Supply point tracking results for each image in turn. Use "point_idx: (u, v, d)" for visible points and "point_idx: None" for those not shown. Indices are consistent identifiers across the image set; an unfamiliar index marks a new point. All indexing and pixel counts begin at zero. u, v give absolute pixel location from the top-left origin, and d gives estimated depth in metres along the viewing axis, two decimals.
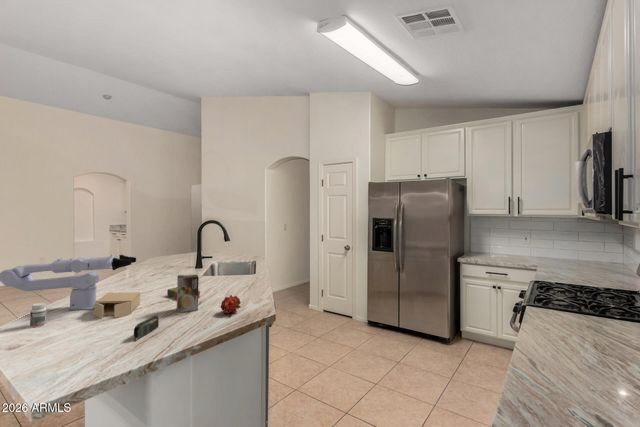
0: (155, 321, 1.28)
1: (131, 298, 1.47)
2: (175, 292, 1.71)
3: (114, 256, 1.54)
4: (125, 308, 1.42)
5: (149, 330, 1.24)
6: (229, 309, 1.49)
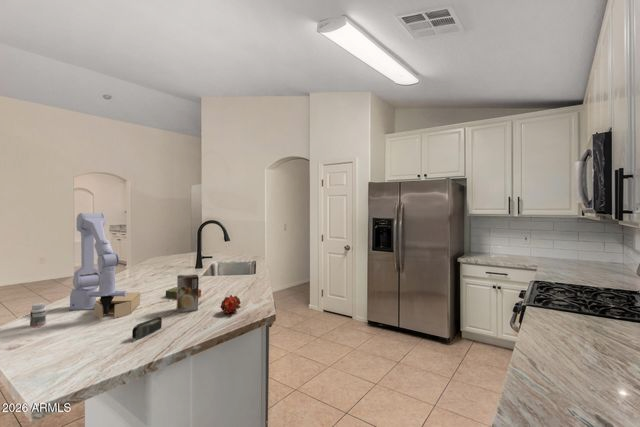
0: (156, 322, 1.27)
1: (131, 298, 1.47)
2: (176, 292, 1.70)
3: (107, 295, 1.35)
4: (125, 308, 1.42)
5: (149, 331, 1.23)
6: (229, 309, 1.49)
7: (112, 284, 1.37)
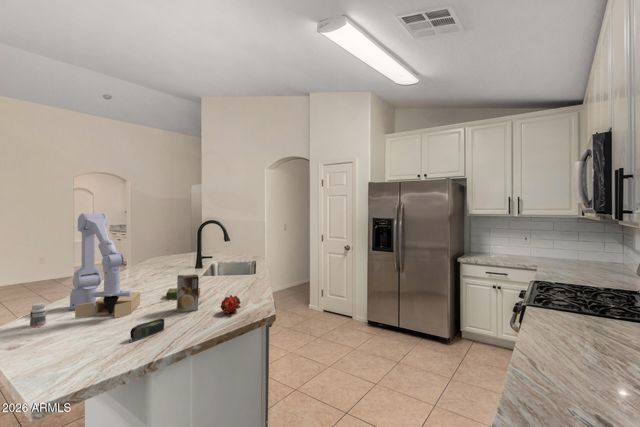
0: (158, 323, 1.25)
1: (131, 298, 1.47)
2: None
3: (112, 295, 1.36)
4: (125, 308, 1.42)
5: (149, 333, 1.22)
6: (229, 309, 1.49)
7: (117, 284, 1.37)
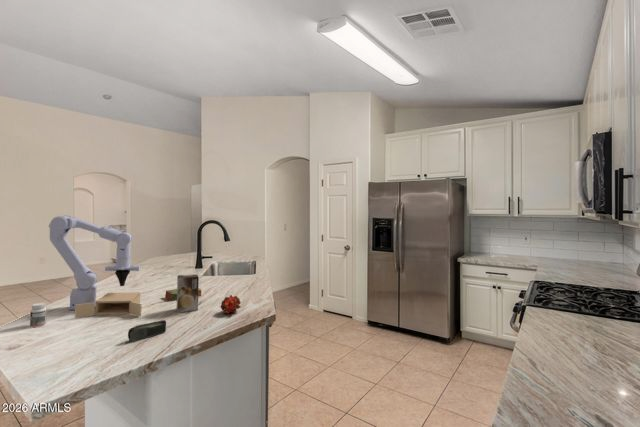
0: (158, 325, 1.23)
1: (131, 298, 1.47)
2: None
3: (123, 269, 1.53)
4: None
5: (148, 334, 1.20)
6: (229, 309, 1.49)
7: (127, 259, 1.55)
